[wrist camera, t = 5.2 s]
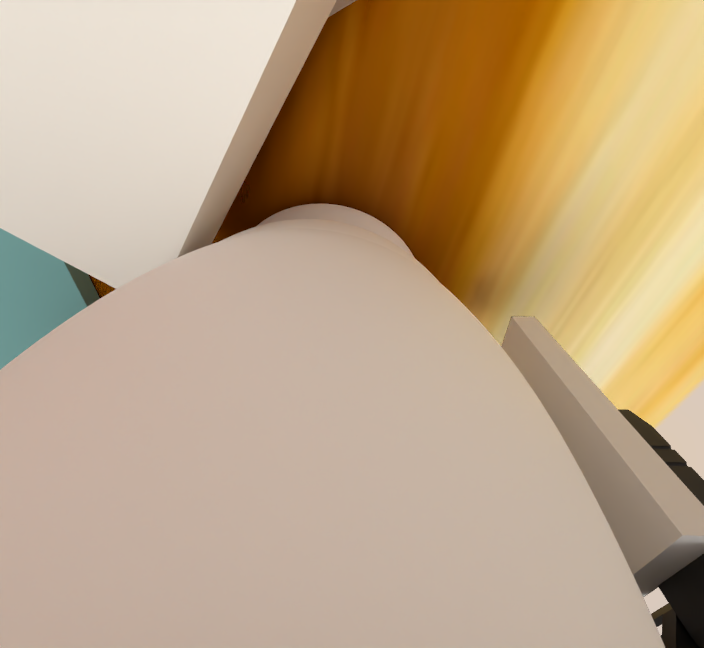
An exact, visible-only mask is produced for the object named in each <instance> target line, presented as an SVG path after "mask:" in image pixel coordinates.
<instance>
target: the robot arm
mask: <svg viewBox="0 0 704 648" xmlns="http://www.w3.org/2000/svg"><path fill="white" fill-rule="evenodd" d="M501 347H502V348H503V350H504V351H505V352H506V353H507V355H508V356H509V357H510V359H511V360H512V361H513V363H514V364H515V365H516V367H517V368H518V369H519V371H520V372H521V374H522V375H523V376H524V378H525V379H526V381H527V382H528V383H529V385H530V386H531V388H532V389H533V391H534V392H535V394H536V395H537V397H538V398H539V400H540V401H541V403H542V405H543V406H544V408H545V409H546V411H547V413H548V414H549V416H550V417H551V419H552V421H553V422H554V424H555V426H556V427H557V429H558V431H559V432H560V434H561V436H562V437H563V439H564V441H565V443H566V444H567V446H568V448H569V450H570V452H571V453H572V455H573V457H574V459H575V460H576V462H577V464H578V466H579V468H580V470H581V472H582V473H583V475H584V477H585V479H586V481H587V483H588V485H589V487H590V489H591V490H592V492H593V494H594V496H595V498H596V500H597V502H598V504H599V506H600V508H601V510H602V512H603V514H604V516H605V518H606V520H607V522H608V524H609V526H610V528H611V530H612V532H613V534H614V536H615V538H616V540H617V542H618V544H619V546H620V549H621V551H622V553H623V555H624V557H625V559H626V561H627V563H628V565H629V568H630V570H631V572H632V574H633V576H634V578H635V580H636V583H637V585H638V587H639V589H640V591H641V593H642V596H643V597H645V596H646V595H647V594H649V593H650V592H652V591H653V590H655V589H656V588H657V587H659V588H660V590H661V591H662V593H663V594H664V596H665V598H666V599H667V601H668V602H669V603H668V604H667V605H665V606H663V607H662V608H660V609H658V610H657V611H655V612H654V613H652V614H651V616H652V618H653V620H654V622H655V625H656V627H657V626H659V625H661V624H662V635H661V639H662V641H663V643H664V646H665V648H704V480H703V479H702V478H701V477H700V476H699V475H698V474H697V473H696V472H695V471H694V470H693V469H692V468H691V467H688V466H687V464H686V461H685V460H684V459H683V458H682V457H681V456H680V455H679V454H678V453H677V452H676V451H675V450H672V449H671V446H670V445H669V444H668V442H666V440H665V439H664V438H663V437H662V436H661V435H660V434H659V433H658V432H657V431H656V430H655V429H654V428H653V427H652V426H651V425H649V424H648V423H647V422H645V421H644V420H642V419H641V418H639V417H638V416H637V415H635V414H634V413H632V412H631V411H629V410H617V408H616V407H615V406H614V405H613V404H612V403H611V402H610V401H609V399H608V398H607V397H606V396H605V395H604V394H603V393H602V392H601V391H600V389H599V388H598V387H597V386H596V385H595V384H594V383H593V382H592V380H591V379H590V378H589V377H588V376H587V375H586V374H585V373H584V372H583V370H582V369H581V368H580V367H579V366H578V365H577V364H576V363H575V361H574V360H573V359H572V358H571V357H570V356H569V355H568V354H567V352H566V351H565V350H564V349H563V348H562V347H561V346H560V345H559V344H558V342H557V341H556V340H555V339H554V338H553V337H552V336H551V335H550V333H549V332H548V331H547V330H546V329H545V328H544V327H543V326H542V325H541V323H540V322H539V321H538V320H537V319H536V318H535V317H525V316H512V317H511V320H510V323H509V325H508V328H507V331H506V334H505V337H504V340H503V343H502V346H501Z"/></svg>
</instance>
